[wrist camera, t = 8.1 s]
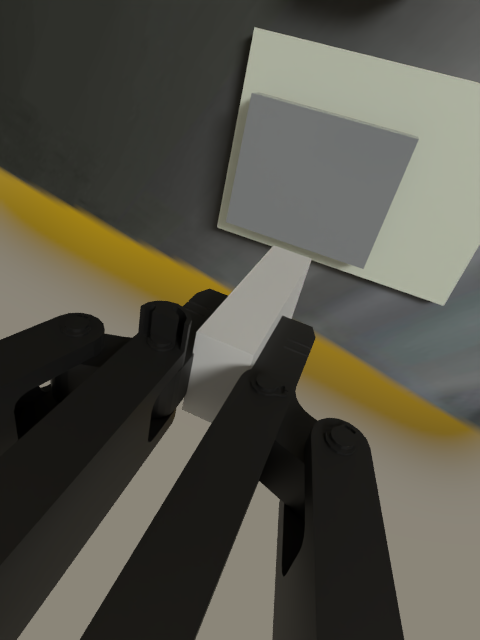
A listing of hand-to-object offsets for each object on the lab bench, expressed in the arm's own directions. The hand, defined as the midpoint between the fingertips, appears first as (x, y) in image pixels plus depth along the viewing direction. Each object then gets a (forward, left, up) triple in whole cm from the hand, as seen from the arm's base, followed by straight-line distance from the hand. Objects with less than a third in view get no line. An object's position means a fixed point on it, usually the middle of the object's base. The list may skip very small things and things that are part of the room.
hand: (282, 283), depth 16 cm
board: (-1, -1, -18) cm, 18 cm away
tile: (-4, 0, -16) cm, 16 cm away
